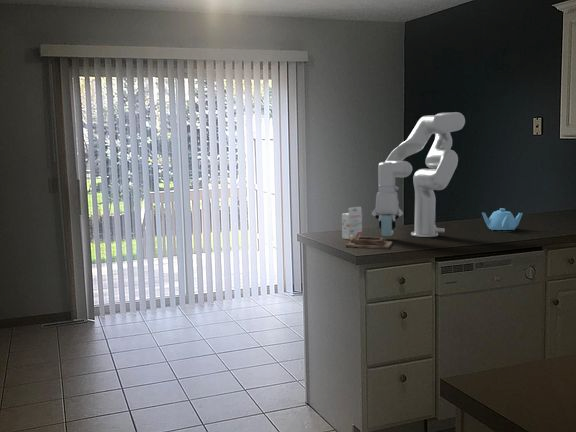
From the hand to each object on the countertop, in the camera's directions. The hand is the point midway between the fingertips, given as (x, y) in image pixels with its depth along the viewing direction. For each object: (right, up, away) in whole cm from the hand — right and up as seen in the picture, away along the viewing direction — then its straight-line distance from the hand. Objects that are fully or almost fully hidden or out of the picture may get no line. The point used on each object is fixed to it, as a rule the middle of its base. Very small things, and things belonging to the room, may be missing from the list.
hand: (387, 228), depth 290 cm
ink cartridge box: (-15, -5, +7) cm, 17 cm away
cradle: (-10, -7, -14) cm, 18 cm away
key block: (0, -2, 0) cm, 2 cm away
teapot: (+62, -1, +30) cm, 69 cm away
